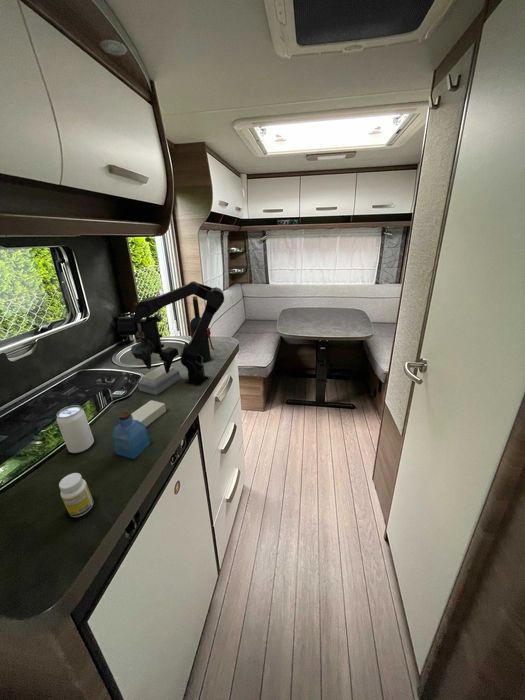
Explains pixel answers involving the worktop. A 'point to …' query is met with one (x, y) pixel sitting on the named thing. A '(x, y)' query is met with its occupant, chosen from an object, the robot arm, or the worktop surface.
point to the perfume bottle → (129, 436)
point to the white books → (149, 412)
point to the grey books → (159, 384)
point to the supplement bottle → (75, 495)
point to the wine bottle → (204, 345)
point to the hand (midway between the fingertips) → (158, 370)
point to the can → (75, 429)
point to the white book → (157, 374)
